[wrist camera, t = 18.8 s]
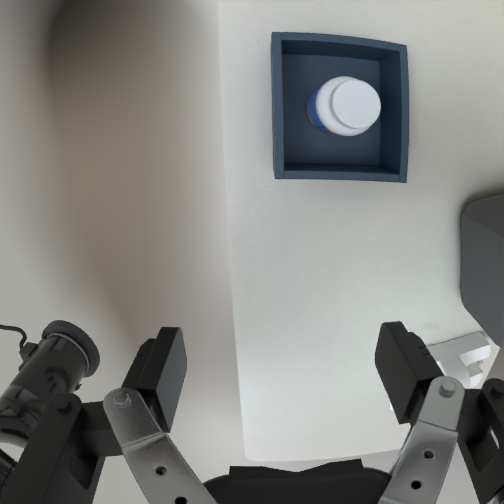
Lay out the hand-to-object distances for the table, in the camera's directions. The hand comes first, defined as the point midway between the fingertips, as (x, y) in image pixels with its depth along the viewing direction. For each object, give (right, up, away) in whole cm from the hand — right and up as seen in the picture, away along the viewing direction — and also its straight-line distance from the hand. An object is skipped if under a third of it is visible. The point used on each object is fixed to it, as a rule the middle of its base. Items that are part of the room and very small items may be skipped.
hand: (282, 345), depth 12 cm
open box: (+7, +19, +19) cm, 28 cm away
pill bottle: (+7, +19, +19) cm, 27 cm away
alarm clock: (+32, +4, +24) cm, 40 cm away
